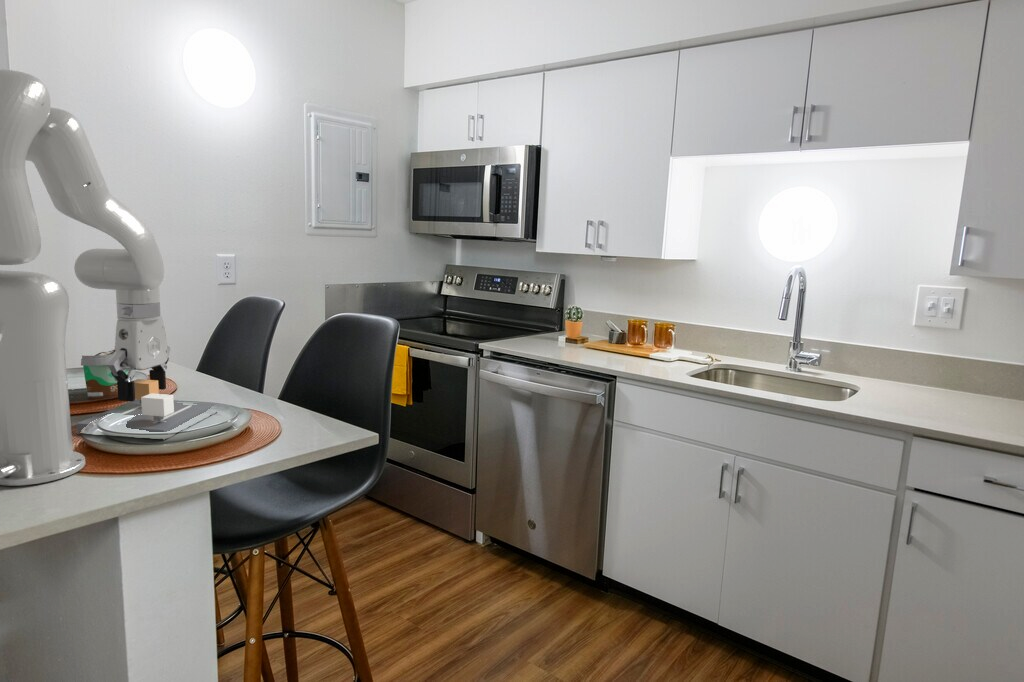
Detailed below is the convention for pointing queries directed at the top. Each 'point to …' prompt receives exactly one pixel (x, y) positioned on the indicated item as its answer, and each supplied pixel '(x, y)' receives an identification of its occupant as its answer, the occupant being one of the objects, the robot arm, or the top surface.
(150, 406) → the fader
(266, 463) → the top surface
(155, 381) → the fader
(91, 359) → the food container
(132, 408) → the panel
